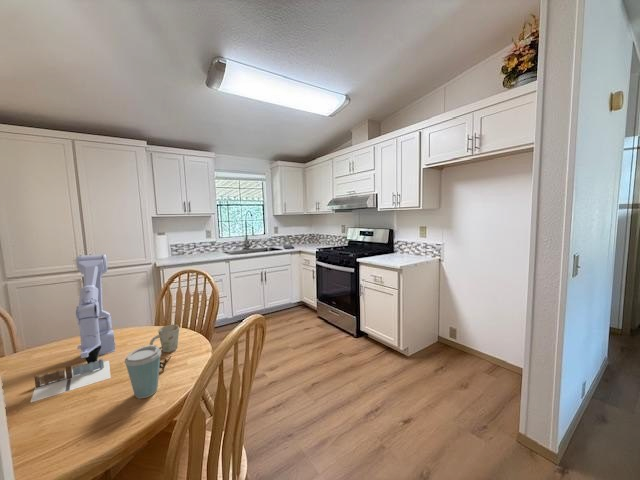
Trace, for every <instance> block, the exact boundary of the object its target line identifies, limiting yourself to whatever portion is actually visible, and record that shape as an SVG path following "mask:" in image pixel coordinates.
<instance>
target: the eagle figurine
mask: <svg viewBox="0 0 640 480" xmlns="http://www.w3.org/2000/svg"><path fill="white" fill-rule="evenodd" d="M171 358H172V356H169V357H168V358H167V359H166V358H164V361H160V367H159V369H161V370H162V372H164V371H165V368H166V365H167V364H168V363H169V361H170V359H171Z"/></svg>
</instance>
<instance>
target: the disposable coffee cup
mask: <svg viewBox="0 0 640 480" xmlns="http://www.w3.org/2000/svg"><path fill="white" fill-rule="evenodd" d="M159 348H160V346H158V345H154V344H153V345H150V344H149V345H144V346H141V347H139V348H136V349H135V350H133V351H131V352H129V353H128V355H126V358H125V359H124V364H125V366H126V369H127V373H128V376H129V379H130V383H131V387H132V391H133V394H134V396H135V397H136V399H146V398H148V397H151V396H152V395H154V394H155V393H156V392H157V390H158V387H159V380H160V379H159V375H160V368H159V367H160V362H161V355H162V349H159Z"/></svg>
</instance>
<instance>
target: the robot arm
mask: <svg viewBox="0 0 640 480" xmlns="http://www.w3.org/2000/svg"><path fill="white" fill-rule="evenodd" d="M76 267H77V269H78V270H79V273H80V274H81V275H83V287H82V288H81V289H79V300H78V306H76V308H75V317H76V320H77V325H78V327H79V336H80V337H79V338H80V345H78V346H77V347H76V349H77V350H80V359H84V360H85V361H86V364H87V363H90V362H95V361H98V360H99V356H102V355H106V354H109V353H114V352H116V341H115V333H114V329H112V326H113V325H112V322H113V321H112V317H111V313H110V312H109V311H106V310H103V309H104V308H103V307H104V306H103V289H102V288H103V286H102V282H103V281H102V279H103V278H102V277H103V274H105V273H107V272H108V256H107V254H105V253H103V254H89V255H87V254H86V255H77V257H76Z"/></svg>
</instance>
